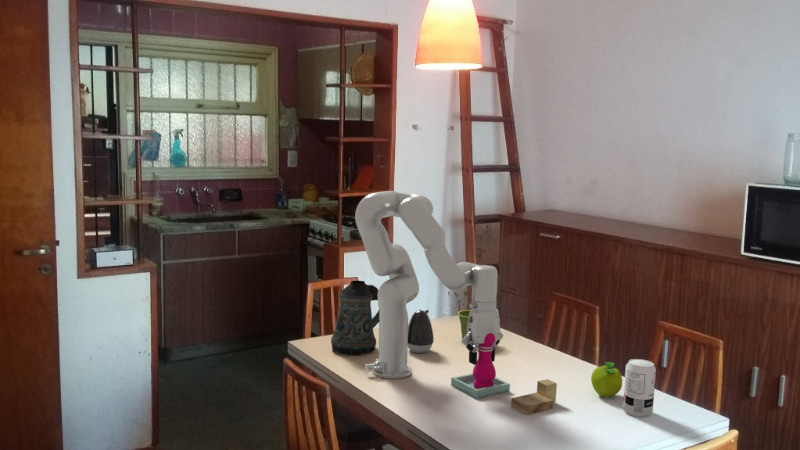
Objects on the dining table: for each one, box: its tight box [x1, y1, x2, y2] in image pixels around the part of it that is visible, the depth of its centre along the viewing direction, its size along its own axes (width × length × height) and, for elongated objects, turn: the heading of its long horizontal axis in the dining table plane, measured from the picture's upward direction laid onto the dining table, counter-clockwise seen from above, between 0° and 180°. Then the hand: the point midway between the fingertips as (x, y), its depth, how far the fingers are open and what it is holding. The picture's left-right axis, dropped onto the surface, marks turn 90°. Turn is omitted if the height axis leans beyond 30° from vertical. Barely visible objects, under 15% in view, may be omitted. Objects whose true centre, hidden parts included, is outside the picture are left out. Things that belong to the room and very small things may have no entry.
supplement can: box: [622, 358, 657, 418], centre depth 208 cm, size 8×8×15 cm
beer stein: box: [330, 280, 379, 357], centre depth 261 cm, size 16×19×25 cm
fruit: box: [590, 361, 623, 398], centre depth 221 cm, size 9×9×10 cm
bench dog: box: [536, 378, 558, 404], centre depth 215 cm, size 4×4×6 cm
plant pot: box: [457, 309, 474, 345], centre depth 274 cm, size 12×12×11 cm
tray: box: [450, 373, 511, 400], centre depth 225 cm, size 13×13×2 cm
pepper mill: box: [472, 333, 497, 389], centre depth 223 cm, size 7×7×20 cm
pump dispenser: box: [408, 309, 435, 354], centre depth 261 cm, size 10×10×15 cm
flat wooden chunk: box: [510, 392, 554, 416], centre depth 210 cm, size 10×7×3 cm
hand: (481, 361), depth 224 cm, fingers open, 6 cm apart
